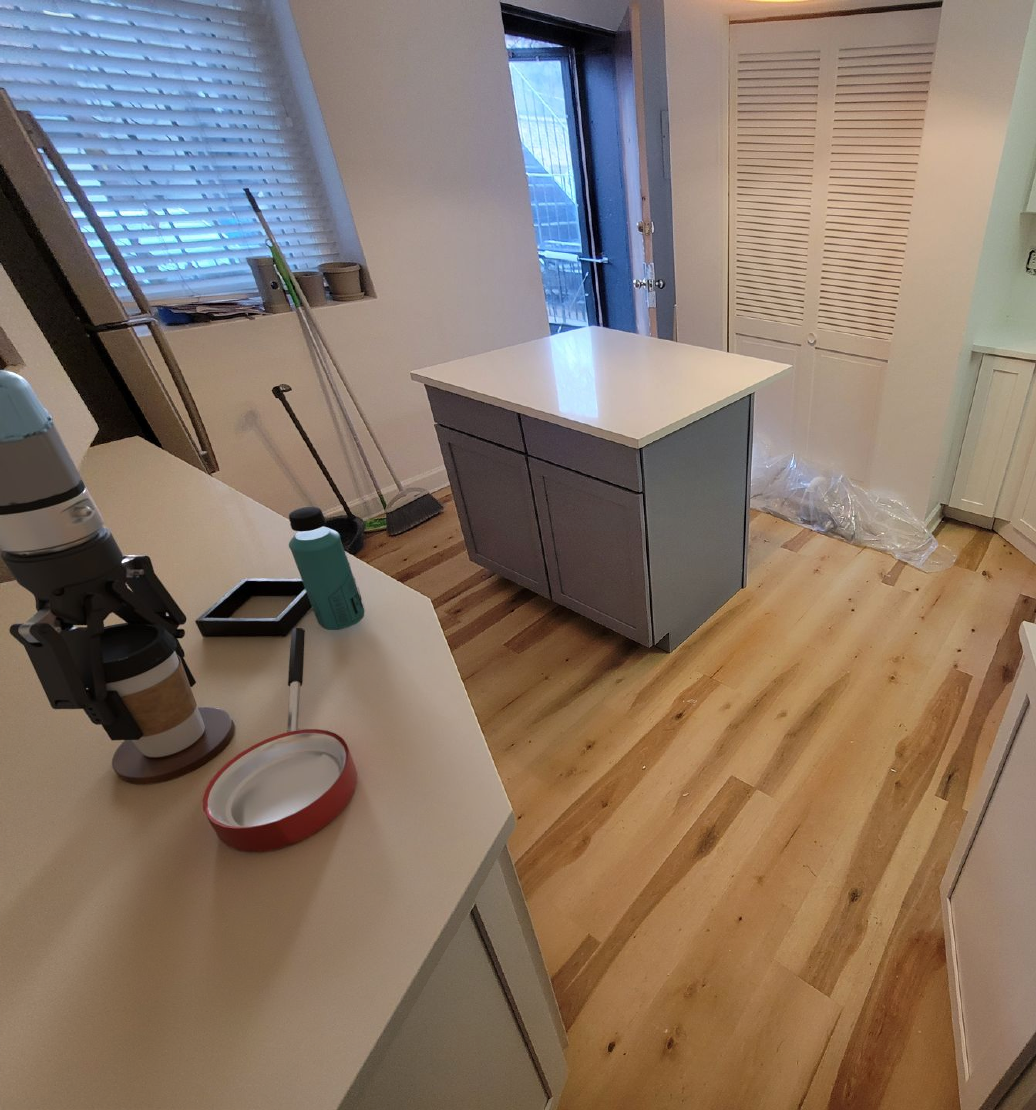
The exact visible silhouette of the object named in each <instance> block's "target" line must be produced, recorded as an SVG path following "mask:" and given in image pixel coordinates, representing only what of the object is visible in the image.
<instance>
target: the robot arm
mask: <svg viewBox="0 0 1036 1110" xmlns="http://www.w3.org/2000/svg"><path fill="white" fill-rule="evenodd" d="M104 523H105V520H104V518H103V516H102V513H100V510H99V508H98V506H97V504H96V502H95V501H94V499H93V497H92V496H91V493H90V492H89V490H88V488H87V486H86V484H85V482H84V480H83V478H82V476H81V474H80V472H79V470H78V468H77V466H76V465H75V462H74V461H73V458H72V457H71V455H70V453H69V451H68V448H67V447H66V445H65V443H64V441H63V439H62V437H61V435H60V433H59V431H58V429H57V427H56V425H55V423H54V419H53V416H52V414H51V413H50V412H49V411H48V409H47V408H44V406H43V404H42V402H41V401H40V399H39V397H38V396H37V394H36V392H35V391H34V389H33V388H32V386H31V384H30V383H29V381H27V379H25V378H24V377H23V376H21V375H19V374H17V373H15V372H12V371H9V370H4V369H0V551H1V553H0V558H1V560H2V561H3V563H4V564H5V566H6V568H7V569H8V570H9V572H10V573H11V575H12V576H13V578H14V580H15V581H16V582H17V584H18V585H19V586H21V587H22V588H24V589H25V590H27V591H28V592H30V593H31V594H32V595H33V596H34V600H35V609H36V613H34V615H32V616H31V617H30V618H29V619H28V620H27V621H25V622H16V623H13V624H12V625H10V626H9V634H10V635H11V636H12V637H13V638H14V639H16V641H18V642H19V643H20V644H21V645H22V646H23V647H24V649H25V652H26V653H27V656H28V658H29V660H30V663H31V664H32V667H33V669H34V671H35V674H36V676H37V678H38V680H39V682H40V685H41V686H42V689H43V692H44V694H45V696H46V698H47V700H48V702H49V705H50V707H51V708H52V709H53V710H83V711H84V713H85V714H86V715H87V717H88V718H89V720H90V722H91V723H92V724H94V725H95V726H96V725H98V726H100V725H101V727H102V728H103V730H104V731H105V732H106V734H107V736H108V737H109V739H110V741H125V740H139V739H140V738H141V737H142V736H143V735H144V734H143V732H142V731H141V729H140V728H139V726H138V724H137V723H136V721H135V720H134V718H133V716H132V715H131V713H130V711H129V710H128V708H127V707H126V705H125V703H124V702H123V700H122V699H121V697H120V695H119V694H118V692H117V691H107V687H106V679H105V671H104V666H103V664H102V663H103V655H102V648H101V640H100V635H101V634H103V633H104V630H105V629H104V627H105V623H104V621H105V620H106V619H107V618H108V617H109V616H110V614H114V615H116V616H117V617H118V618H120V619H121V620H122V621H124V623H131V624H153V623H157V624H160V625H162V626H163V627H164V628H165V629H166V630H167V632H168V633H170V634H171V635H173V636H174V639H175V640H176V642H177V647H176V649H175V652H176V654H177V655H178V656H179V657H180V658H181V661H182V664H183V667H184V670H185V673H186V675H187V678H188V681H189V684H190V687H191V688H193V687H194V686H195V685H196V684H197V681H196V679H195V677H194V675H193V674H192V672H191V669H190V667H189V666H188V663H187V662H186V660H185V657H186V654H185V651H184V649H183V647H182V645H181V643H180V641H179V639H183V638H184V637H185V635H186V631H185V629H184V628H179V627H180V626H182V625H185V624H186V623H187V616H186V614H185V613H184V611H183V610H182V608H180V606H179V604H177V602H176V601H175V599H174V598H173V596H172V595H171V594H170V592H169V591H168V589H167V588H166V587H165V585H164V584H163V583H162V581H161V580H160V578H159V577H158V575H157V574H156V572H155V570H154V567H153V563H152V559H151V557H150V556H149V555H131V554H130V555H129V554H128V555H127V554H125V555H123V552H122V550H121V548H120V547H119V545H118V543H117V541H116V539H115V537H114V535H113V534H112V532H111V530H110V528H108V527H107V526H104V525H105V524H104Z"/></svg>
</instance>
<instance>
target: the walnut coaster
mask: <svg viewBox="0 0 1036 1110" xmlns="http://www.w3.org/2000/svg"><path fill="white" fill-rule="evenodd" d="M197 707H198V706H197ZM198 710H199V712H200V715H201V717H202V720H203V722H204V725H205V730H204V732H203V734H202V736H201V737H200V738H199V739H198V740H197V741H196V742H194V743H193V744H192V745H190V746H189V747H187V748H185V749H183V750H181V751H179V752H177V753H174V754H171V755H167V756H163V757H149V756H145V755H144V754H142V753H141V751H140V750H139V749H138V748H137V746H136V745H135V744H134V743H133V742H132V740H123V742H121V744H120V745H119V746H118V747H117V749H115V752H114V754H113V756H112V760H111V766H112V769H113V771H114V772H115V774H116V775H117V777H118V778H119V779H120V780H122V781H123V782H125V783H129V784H130V785H131V784H133V785H152V784H159V783H164V782H168V781H171V780H174V779H177V778H180V777H182V776H185V775H187V774H189V773H192V772H194V771H196V770H197V769H199V768H202V767H203V766H204V765H206V764H207V763H209V762H211V761H212V760H213V759H214V758H216V757H217V756H218V755H220V754H221V753H222V752H223V751H224V750H225V749H226V748H227V746H228V745H229V744H230V743H231V741H232V739H233V737H234V734H235V730H236V727H235V722H234V720H233V718H232V717H231V715H230V714H229V713H228V712H227V711H225V710H224V709H221V708H218V707H213V706H199V707H198Z"/></svg>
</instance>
